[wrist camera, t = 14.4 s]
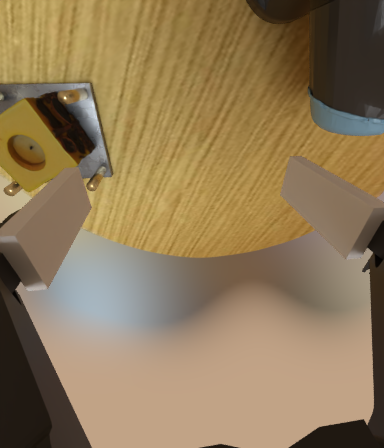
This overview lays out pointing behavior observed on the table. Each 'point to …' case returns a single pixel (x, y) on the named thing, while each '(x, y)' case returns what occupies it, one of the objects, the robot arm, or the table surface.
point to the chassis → (83, 112)
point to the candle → (40, 140)
